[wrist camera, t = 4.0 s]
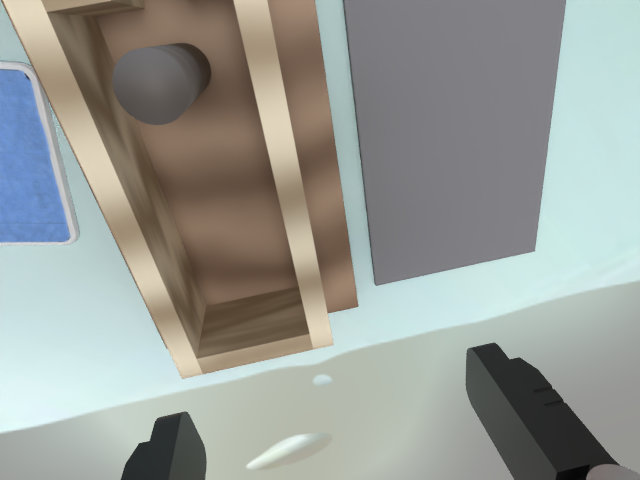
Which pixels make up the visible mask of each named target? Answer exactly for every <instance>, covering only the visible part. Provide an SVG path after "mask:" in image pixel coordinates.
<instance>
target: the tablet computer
mask: <svg viewBox="0 0 640 480" xmlns="http://www.w3.org/2000/svg"><path fill="white" fill-rule="evenodd" d="M78 237H79V228H78V223H77V219H76V214H75V210H74V205H73V201H72V197H71V193H70V189H69V185H68V180H67V176H66V172H65V167H64V163H63V159H62V155H61V151H60V147H59V143H58V139H57V135H56V131H55V127H54V123H53V119H52V115H51V111H50V107H49V103H48V99H47V96H46V94H45V92H44V90H43V88H42V86H41V84H40V81H39V79H38V77H37V75H36V73H35V71H34V69H33V67H32V66H30V65H28V64H25V63H21V62H3V61H0V245H67V244H71V243H73V242H75V241H76V240H77V239H78Z"/></svg>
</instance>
